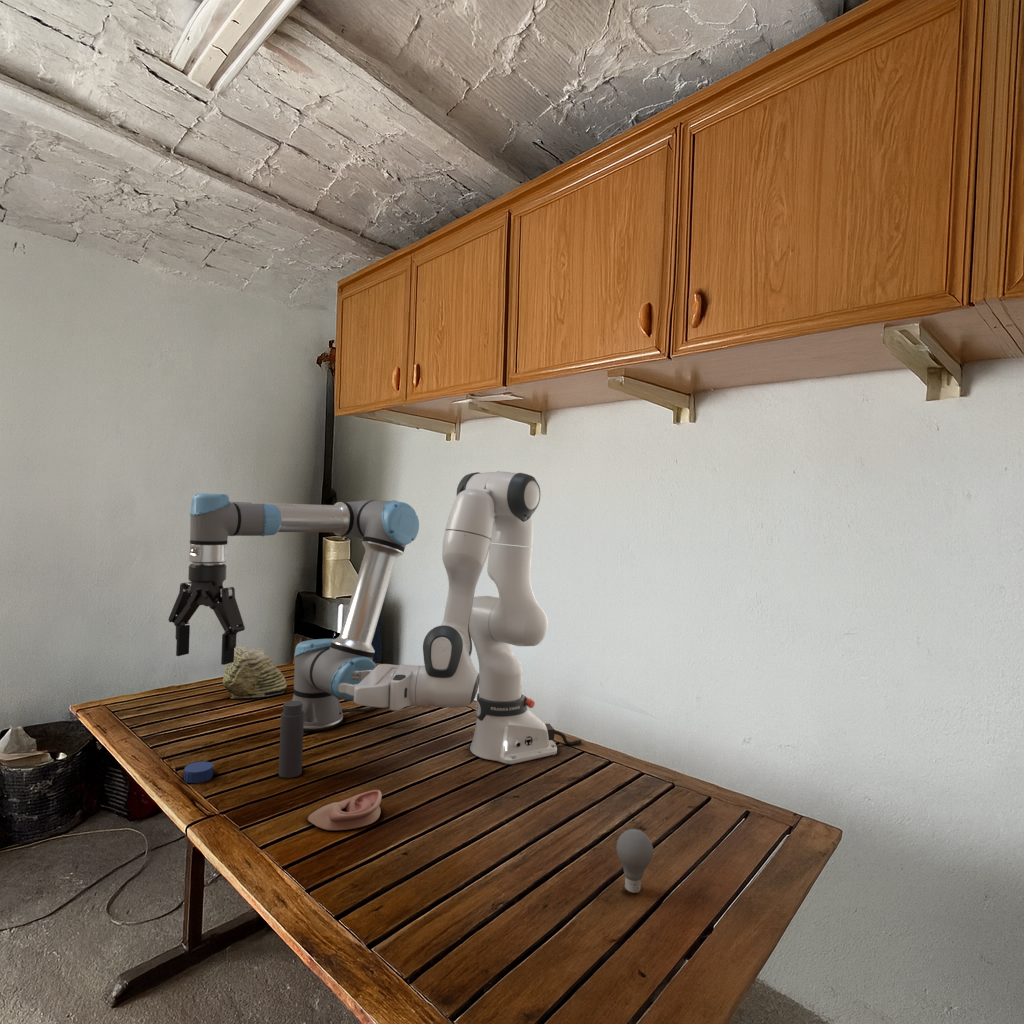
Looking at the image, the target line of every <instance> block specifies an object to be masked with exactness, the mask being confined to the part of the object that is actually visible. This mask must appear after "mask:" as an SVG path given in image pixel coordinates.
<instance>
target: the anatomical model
mask: <svg viewBox="0 0 1024 1024" xmlns="http://www.w3.org/2000/svg"><path fill="white" fill-rule="evenodd" d="M382 799H383V795H382V791H381V790H380V789H372V790H368V791H365V792H362V793H358V794H355V795H353V796H351V797H349V798H346V799H343V800H341V801H336V802H331V803H327V804H325V805H323V806H321V807H319V808H318V809H316V810H315V811H313V812H311V813H310V814H309V815H308V817H307V821H308V822H309V823H311V824H313V825H314V826H316V827H317V828H320V829H322V830H325V831H344V830H345V831H347V830H352V829H353V830H354V829H359V828H362V827H365V826H368V825H371V824H373V823H375V822H376V821H378V820H379V818H380V815H381V807H380V805H381V802H382Z"/></svg>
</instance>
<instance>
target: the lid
mask: <svg viewBox="0 0 1024 1024" xmlns="http://www.w3.org/2000/svg"><path fill="white" fill-rule="evenodd" d="M183 770H184V771H183V780H184V782H186V783H188V784H200V783H204V782H207V781H209V780H211V779H212V778H213V776H214V770H215V769H214V764H213V762H211V761H196V762H191V763H189V764H187V765H186V766H185V767H184V769H183Z"/></svg>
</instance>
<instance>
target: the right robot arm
mask: <svg viewBox="0 0 1024 1024" xmlns="http://www.w3.org/2000/svg"><path fill="white" fill-rule="evenodd" d="M540 501H541V488H540V485H539V483H538V481H537V479H536V478H535V477H534V476H533V475H530V474H527V473H524V472H511V471H510V472H509V471H502V470H501V471H500V470H499V471H487V472H478V471H477V472H470V473H468V474H465V475H464V476H463V477H462V478H461V479H460V481H459V483H458V484H457V488H456V497H455V499H454V502H453V504H452V507H451V509H450V512H449V515H448V518H447V522H446V526H445V530H444V534H443V539H442V554H441V555H442V558H441V559H442V562H443V565H444V568H445V571H446V575H447V580H448V581H447V582H448V591H447V598H446V603H445V607H444V608H445V609H444V613H443V614H444V615H443V619H442V622H441V624H440V625H437V626H434V627H433V628H431V629H430V630H429V631H428V632H427V634H426V635H425V636H424V639H423V643H422V653H423V663H424V664H423V665H420V664H419V665H418V664H404V663H403V664H402V663H401V664H400V665H398V664H390V663H380V664H378V665H376V666H375V668H374V669H373V670H365V671H354V672H353V673H352V680H362V681H361V682H360V683H359V684H354V685H351V684H348V683H341V684H340V685H339V686H338V691H339V692H341V693H347V694H350V695H352V696H354V700H353V703H355V704H357V705H358V706H362V707H363V706H364V707H369V708H370V707H378V708H381V709H382V708H384V709H385V708H388V707H389V710H390V711H396V712H397V711H400V710H402V709H404V708H407V707H412V706H413V707H423V706H432V707H434V708H442V709H445V708H446V709H455V708H456V709H459V708H466V707H468V706H470V705H471V704H472V703H473V702H474V700H475V699H476V702H475V716H476V719H475V720H476V721H475V726H474V733H473V736H472V741H471V743H470V746H469V751H470V752H471V753H472V754H473V755H474V756H475V757H478V758H481V759H484V760H488V761H489V760H490V761H496V762H499V763H502V764H506V765H514V764H519V763H523V762H528V761H532V760H536V759H541V758H545V757H549V756H555V755H556V754H557V753H558V745H557V744H556V743H555V742H554V741H555V735H557V736H559V737H561V739H562V740H563V741H562V742H563V743H564V744H565V745H567V746H576V745H580V744H582V739H577V740H573V741H569V740H568V739H567V737H566V735H565V733H563V732H561V731H558V730H556V729H555V728H554V727H553V726H552V725H551V724H550V723H544V721H543V720H541V719H540V718H539V717H538V716H537V715H536V714H535V713H533V712H532V711H531V710H529V709H533V708H534V707H535V705H536V703H535V700H533V699H532V698H530V697H528V696H526V695H524V694H523V688H522V687H523V672H524V671H523V666H522V663H521V661H520V660H519V659H518V657H516V655H515V654H514V653H513V650H512V647H511V645H512V646H515V647H536V646H538V645H540V644H541V643H542V642H543V641H544V640H545V638H546V636H547V634H548V632H549V631H548V630H549V619H548V616H547V614H546V612H545V610H544V609H543V608H542V607H541V606H540V604H539V602H538V601H537V599H536V596H535V593H534V590H533V585H532V580H531V572H532V571H531V569H532V558H533V557H532V556H533V545H534V519H533V515H534V513H535V512H536V511H537V509H538V507H539V504H540ZM487 558H488V559H487ZM486 561H487V567H486V568H487V569H486V570H487V575H488V577H489V578H490V580H492V581H493V583H494V584H495V586H496V588H497V592H498V597H497V596H491V595H478V596H475V592H476V588H477V585H478V582H479V579H480V577H481V575H482V572H483V569H484V566H485V564H486ZM473 646H474V649H475V652H476V655H477V661H478V670H477V669H476V667H475V665H474V663H473V660H472V658H471V655H472V652H473ZM528 708H529V709H528Z"/></svg>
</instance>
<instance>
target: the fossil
mask: <svg viewBox="0 0 1024 1024" xmlns="http://www.w3.org/2000/svg"><path fill="white" fill-rule="evenodd" d="M225 665H226V666H225V668H224V671H223V675H222V676H223V677H222V685H223V687H224V688H225V690H226V691H228V693H229V698H230V699H250V698H264V697H271V696H275V695H281V694H284V693H285V691H286V689H287V687H288V686H287V680H286V678H285V676H284V674H283V673H282V672H281V669H279V668H278V667H277V665H276V663H275V662H274V660H273V659H272V658H271V657H270V656H269V655H268V654H267V653H266V652H265V650H264V649H263V648H260V647H258V648H251V647H247V646H246V647H245V646H238V647H237V648H235V649H234V662H232V663H229V664H225Z"/></svg>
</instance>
